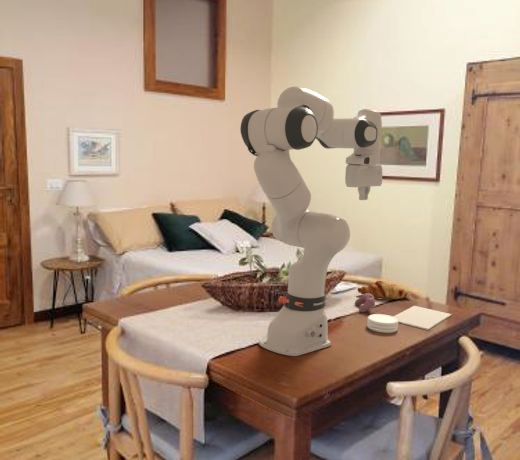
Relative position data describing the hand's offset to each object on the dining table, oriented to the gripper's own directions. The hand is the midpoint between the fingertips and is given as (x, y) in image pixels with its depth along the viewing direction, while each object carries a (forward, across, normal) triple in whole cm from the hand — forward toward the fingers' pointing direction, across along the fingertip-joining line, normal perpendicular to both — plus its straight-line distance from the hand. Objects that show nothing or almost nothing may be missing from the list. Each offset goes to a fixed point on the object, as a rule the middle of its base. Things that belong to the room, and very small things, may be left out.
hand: (363, 199), depth 176 cm
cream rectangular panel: (+41, -15, +18) cm, 47 cm away
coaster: (+42, +5, +13) cm, 44 cm away
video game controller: (+41, -10, -1) cm, 42 cm away
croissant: (+41, -30, -3) cm, 51 cm away
